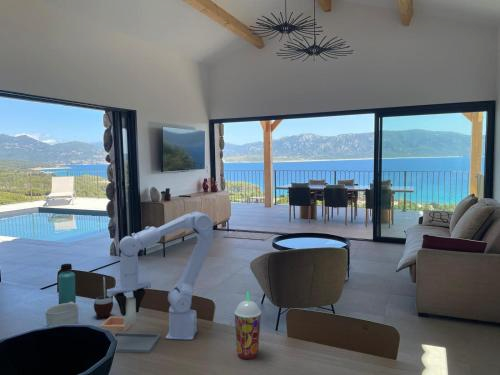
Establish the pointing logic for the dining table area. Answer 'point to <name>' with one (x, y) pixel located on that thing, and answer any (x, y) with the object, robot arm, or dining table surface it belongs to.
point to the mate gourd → (103, 305)
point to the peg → (130, 311)
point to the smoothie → (247, 328)
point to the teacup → (62, 314)
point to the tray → (136, 342)
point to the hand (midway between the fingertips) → (129, 313)
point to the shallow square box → (115, 325)
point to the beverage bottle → (66, 285)
